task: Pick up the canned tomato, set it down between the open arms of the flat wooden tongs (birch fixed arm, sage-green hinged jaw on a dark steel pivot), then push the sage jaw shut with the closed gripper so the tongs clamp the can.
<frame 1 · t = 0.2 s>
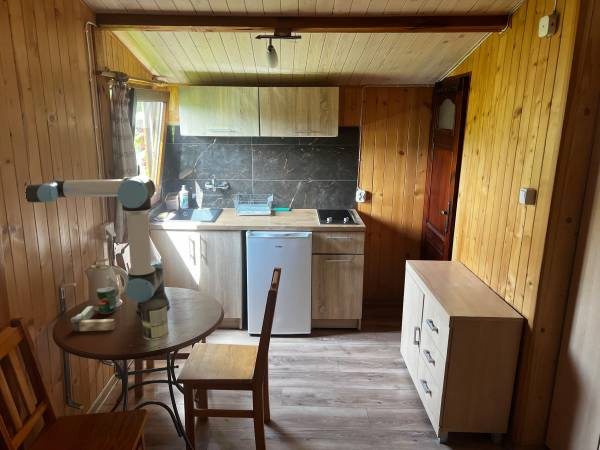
hand: (25, 264, 187), 28 cm above the table, fingers open, 13 cm apart
coffee can: (156, 335, 183), on the table
canned tomato: (108, 310, 207), on the table
tongs fixed arm: (77, 329, 188), on the table
tongs jaw: (83, 317, 193), point 3 cm above the table, hinge at 90.0°
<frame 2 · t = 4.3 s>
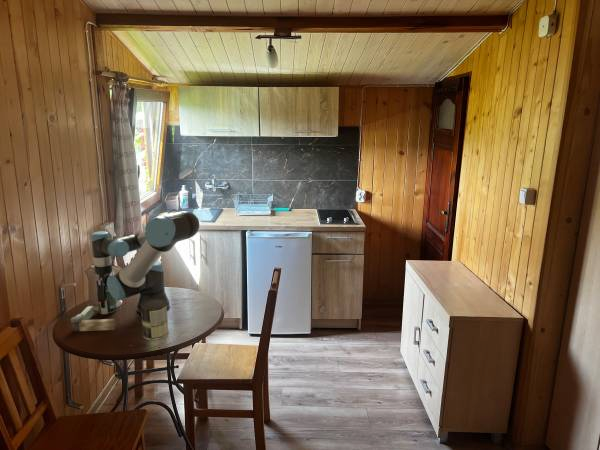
hand: (108, 309, 207), 0 cm above the table, fingers closed on canned tomato, 8 cm apart
canned tomato: (108, 310, 207), on the table, touching gripper
everything else where it was.
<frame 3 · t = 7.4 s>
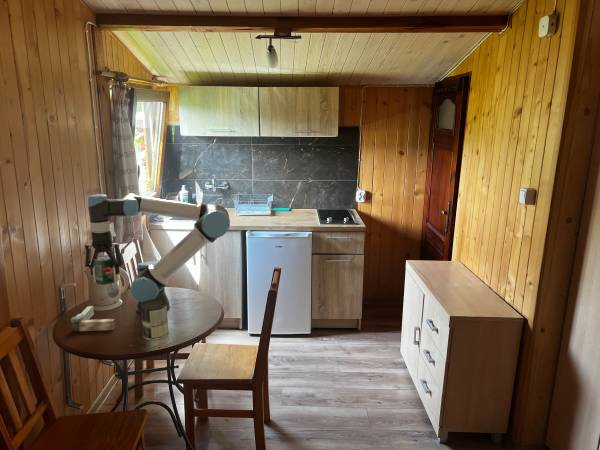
hand: (106, 281, 190), 20 cm above the table, fingers closed on canned tomato, 8 cm apart
canned tomato: (106, 282, 190), point 19 cm above the table, touching gripper
everything else where it was.
when the fingers open (2 cm above the table, at t = 10.8 s): canned tomato drops 1 cm, on the table.
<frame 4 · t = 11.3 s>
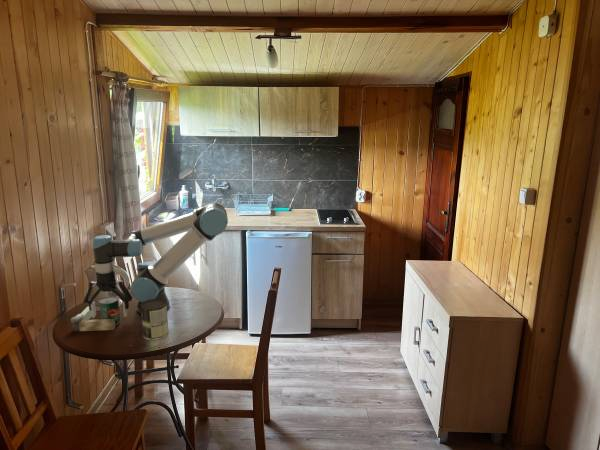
hand: (110, 316, 194), 3 cm above the table, fingers open, 13 cm apart
canned tomato: (111, 323, 194), on the table
everything else where it was.
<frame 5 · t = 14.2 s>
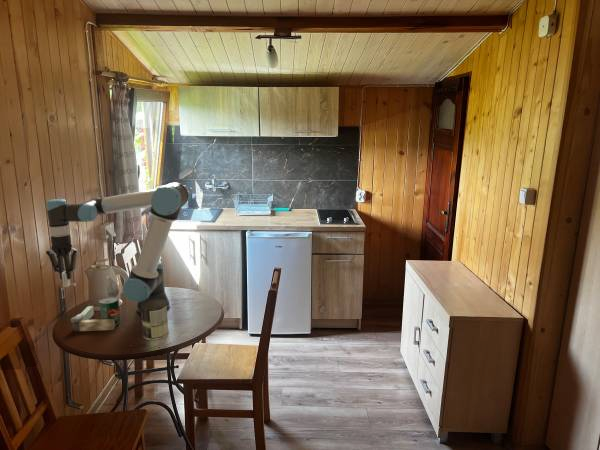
hand: (66, 285, 194), 16 cm above the table, fingers closed
nothing on the table moved.
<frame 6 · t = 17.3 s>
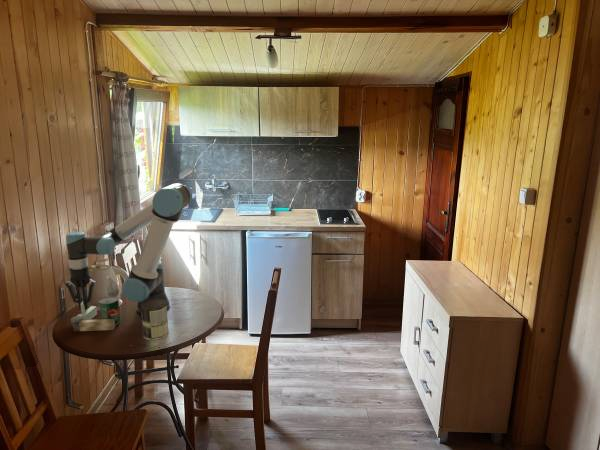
hand: (84, 316, 197), 2 cm above the table, fingers closed
tongs jaw: (84, 317, 193), point 3 cm above the table, hinge at 84.2°, touching gripper
everything else where it was.
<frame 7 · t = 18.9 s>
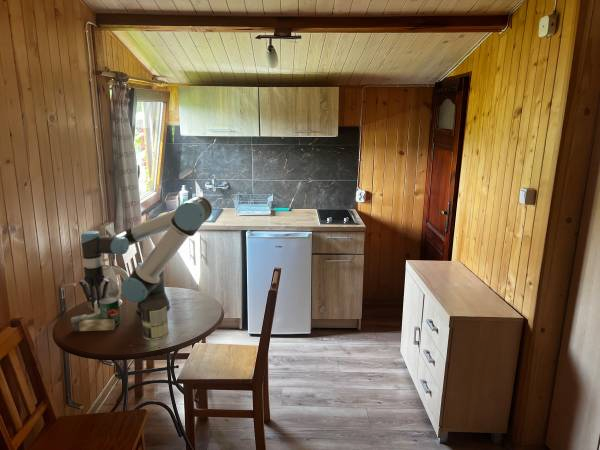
hand: (98, 315, 198), 2 cm above the table, fingers closed
tongs jaw: (91, 318, 192), point 3 cm above the table, hinge at 51.3°, touching gripper
everything else where it was.
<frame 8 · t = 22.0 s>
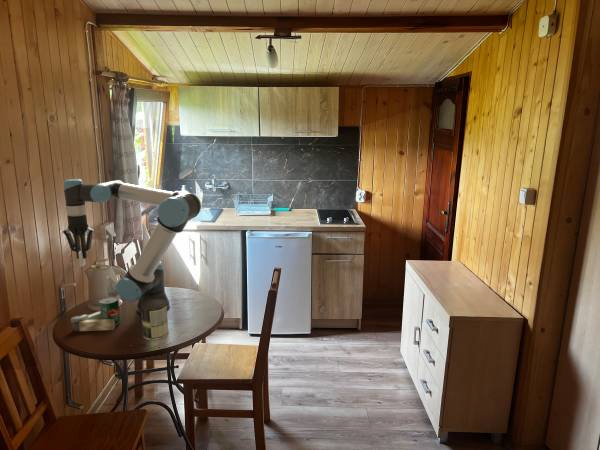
hand: (82, 265, 197), 24 cm above the table, fingers closed
tongs jaw: (91, 318, 192), point 3 cm above the table, hinge at 49.8°
everything else where it was.
at the end: tongs jaw at +50° (first picture: +90°); canned tomato inside the target area (0.7 cm from its centre), on the table; canned tomato tilted 0° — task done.
